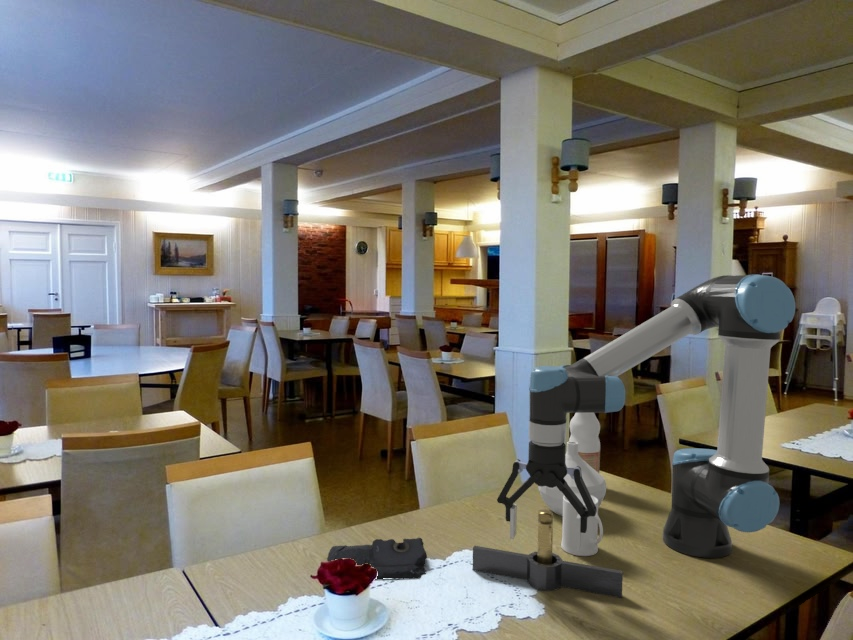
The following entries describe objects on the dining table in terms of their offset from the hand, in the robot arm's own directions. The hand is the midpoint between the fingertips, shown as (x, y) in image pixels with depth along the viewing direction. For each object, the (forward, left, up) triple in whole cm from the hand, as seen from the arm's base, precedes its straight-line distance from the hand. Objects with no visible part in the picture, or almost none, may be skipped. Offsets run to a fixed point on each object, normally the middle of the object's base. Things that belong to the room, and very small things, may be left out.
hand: (545, 541), depth 124 cm
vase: (0, -42, -9) cm, 43 cm away
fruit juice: (-1, -63, -9) cm, 64 cm away
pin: (0, 0, -9) cm, 9 cm away
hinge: (0, 0, -9) cm, 9 cm away
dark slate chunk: (+36, +6, -9) cm, 38 cm away
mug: (-6, -18, -9) cm, 21 cm away
